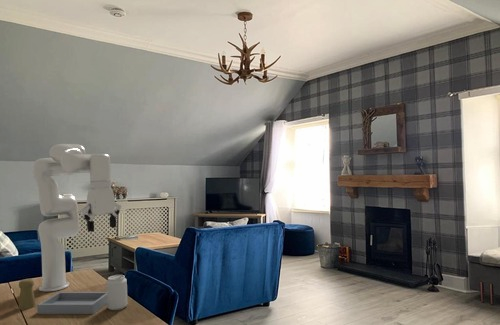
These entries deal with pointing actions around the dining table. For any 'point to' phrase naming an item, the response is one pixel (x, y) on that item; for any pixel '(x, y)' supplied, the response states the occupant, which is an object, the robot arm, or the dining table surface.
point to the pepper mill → (26, 294)
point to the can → (116, 292)
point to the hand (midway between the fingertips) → (102, 229)
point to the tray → (73, 303)
